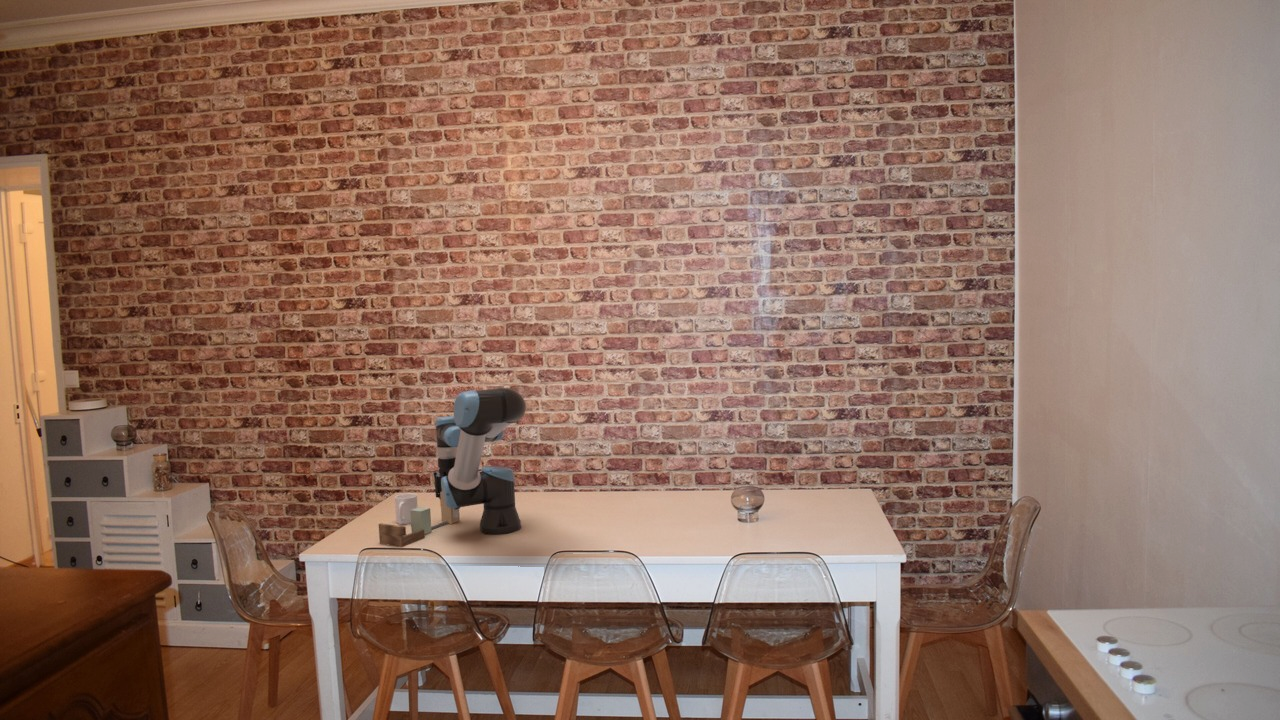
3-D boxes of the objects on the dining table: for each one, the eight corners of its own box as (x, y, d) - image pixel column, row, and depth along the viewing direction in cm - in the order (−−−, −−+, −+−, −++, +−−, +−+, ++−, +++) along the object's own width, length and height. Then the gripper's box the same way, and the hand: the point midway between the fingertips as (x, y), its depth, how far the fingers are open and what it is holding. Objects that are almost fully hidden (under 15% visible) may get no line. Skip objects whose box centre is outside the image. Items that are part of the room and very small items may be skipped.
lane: (424, 537, 299) (423, 518, 299) (401, 546, 289) (400, 527, 289) (403, 534, 304) (402, 515, 304) (379, 543, 294) (378, 524, 294)
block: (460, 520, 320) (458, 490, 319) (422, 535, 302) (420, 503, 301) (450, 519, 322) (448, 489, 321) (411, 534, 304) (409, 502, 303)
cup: (421, 518, 326) (419, 493, 325) (411, 527, 314) (409, 500, 313) (400, 518, 326) (399, 493, 326) (389, 527, 314) (388, 501, 314)
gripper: (472, 456, 316) (475, 516, 318) (436, 453, 325) (440, 511, 327) (459, 460, 309) (462, 521, 311) (423, 457, 318) (426, 516, 320)
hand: (450, 516), depth 319 cm, fingers closed on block, 5 cm apart
